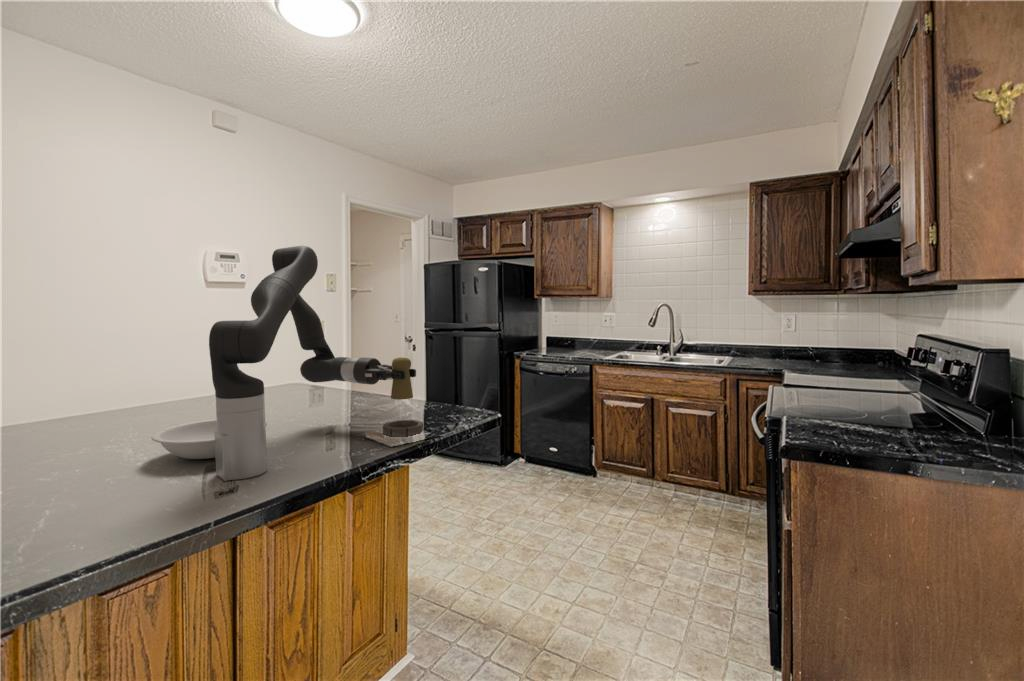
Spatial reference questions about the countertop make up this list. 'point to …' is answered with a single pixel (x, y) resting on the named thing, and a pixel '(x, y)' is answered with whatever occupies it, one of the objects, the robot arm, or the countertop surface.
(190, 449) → the soup bowl
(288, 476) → the countertop surface
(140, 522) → the countertop surface
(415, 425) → the socket board
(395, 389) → the cork
